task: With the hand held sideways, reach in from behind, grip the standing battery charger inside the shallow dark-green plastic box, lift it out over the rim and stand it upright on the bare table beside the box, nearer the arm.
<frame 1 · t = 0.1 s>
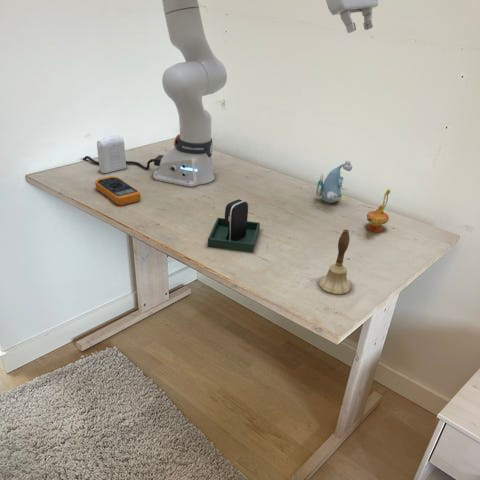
hand: (360, 30, 125), 54 cm above the table, tool tilted 30°, fingers open, 8 cm apart
hand bell: (334, 286, 130), on the table
battery charger: (234, 238, 148), resting on storage box
magic lamp: (373, 230, 158), on the table
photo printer: (113, 170, 185), on the table
toy figure: (330, 202, 173), on the table
multimeter: (117, 195, 168), on the table
storage box: (234, 238, 148), on the table
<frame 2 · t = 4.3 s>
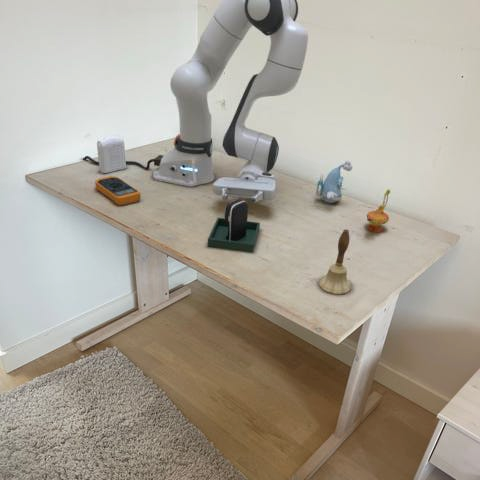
hand: (239, 198, 153), 7 cm above the table, tool horizontal, fingers open, 8 cm apart
nothing on the table moved.
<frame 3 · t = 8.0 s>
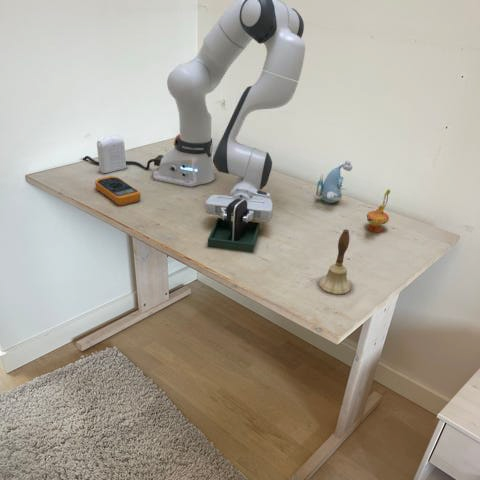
hand: (235, 219, 143), 7 cm above the table, tool horizontal, fingers closed on battery charger, 4 cm apart
battery charger: (234, 237, 148), resting on storage box, touching gripper
everything else where it was.
when the fingers open (6 cm above the table, at t = 15.6 s): battery charger stays where it is, on the table.
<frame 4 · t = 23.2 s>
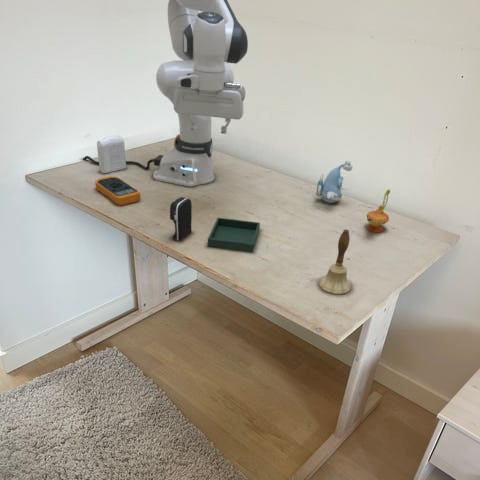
hand: (208, 131, 147), 25 cm above the table, tool pointing down, fingers open, 8 cm apart
battery charger: (180, 236, 147), on the table
everything else where it was.
at the end: battery charger inside the target area (0.4 cm from its centre), on the table; battery charger tilted 0°; the gripper is holding nothing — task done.
